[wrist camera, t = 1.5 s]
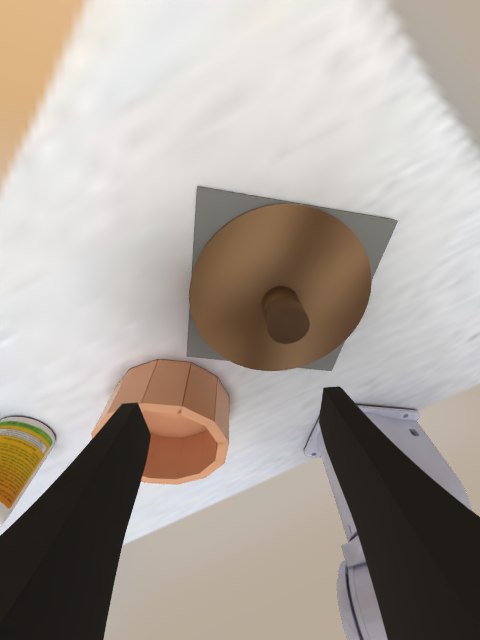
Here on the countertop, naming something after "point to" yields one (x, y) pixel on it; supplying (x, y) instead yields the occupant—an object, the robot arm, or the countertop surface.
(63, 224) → the countertop surface
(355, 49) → the countertop surface
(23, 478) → the supplement bottle
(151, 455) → the bowl
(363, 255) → the lid
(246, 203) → the mat
